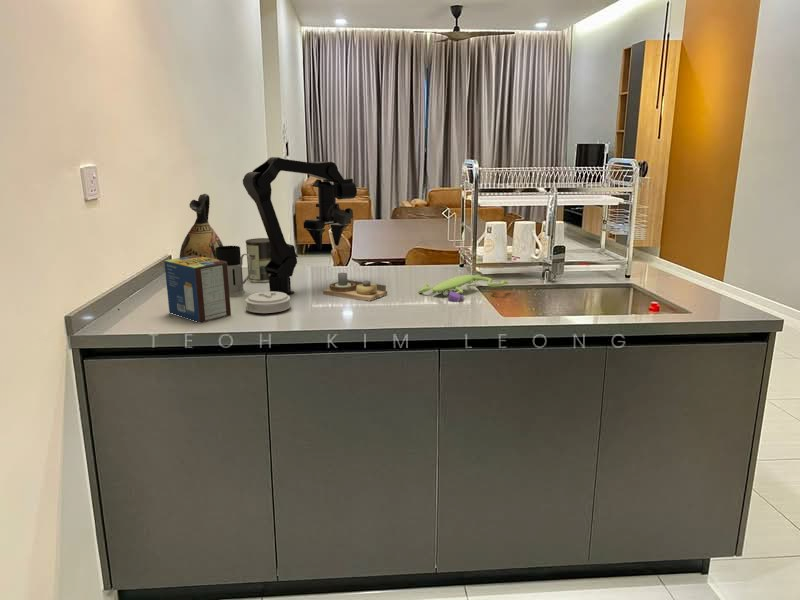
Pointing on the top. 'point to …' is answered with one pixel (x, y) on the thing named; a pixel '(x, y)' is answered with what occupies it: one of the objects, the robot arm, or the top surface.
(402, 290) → the top surface
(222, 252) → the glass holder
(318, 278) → the top surface
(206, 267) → the protein box
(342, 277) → the planet gear
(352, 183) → the robot arm
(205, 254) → the ceramic jug
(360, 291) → the carrier board
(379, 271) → the top surface
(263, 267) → the printed mug
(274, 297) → the lid
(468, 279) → the figurine
